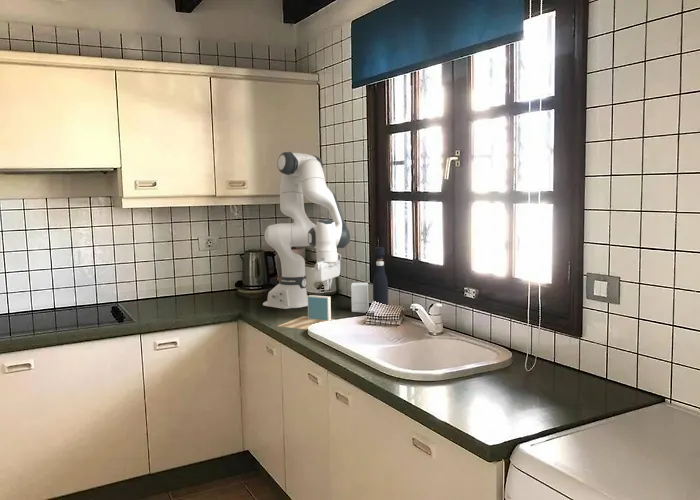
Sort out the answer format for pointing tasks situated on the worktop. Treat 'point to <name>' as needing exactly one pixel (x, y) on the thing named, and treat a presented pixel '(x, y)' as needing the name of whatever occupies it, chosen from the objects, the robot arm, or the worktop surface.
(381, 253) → the navy water bottle
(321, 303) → the tile
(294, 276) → the robot arm
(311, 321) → the trivet
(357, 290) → the supplement box
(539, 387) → the worktop surface
